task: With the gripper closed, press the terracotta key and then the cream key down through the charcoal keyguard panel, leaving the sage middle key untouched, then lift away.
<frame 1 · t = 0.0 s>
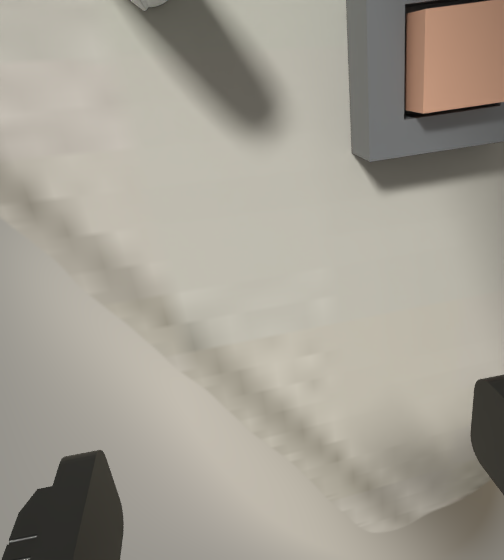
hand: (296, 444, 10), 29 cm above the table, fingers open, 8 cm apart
terracotta key: (458, 57, 32), point 4 cm above the table, slide at 0.0 cm
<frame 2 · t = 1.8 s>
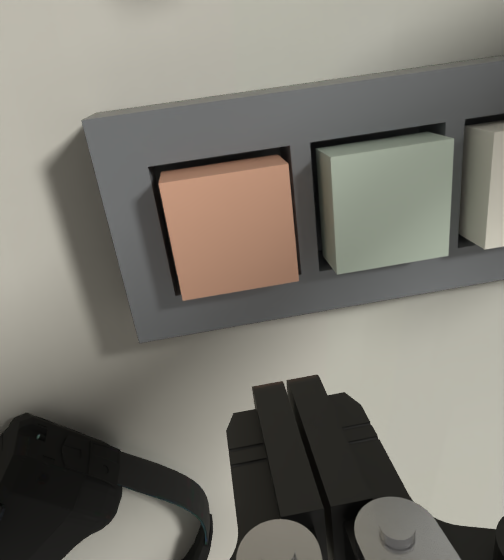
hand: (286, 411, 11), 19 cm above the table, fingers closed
virtual reality headset: (77, 518, 37), on the table
terracotta key: (230, 226, 24), point 4 cm above the table, slide at 0.0 cm
sage key: (382, 202, 25), point 4 cm above the table, slide at 0.0 cm
keyguard panel: (354, 183, 29), on the table
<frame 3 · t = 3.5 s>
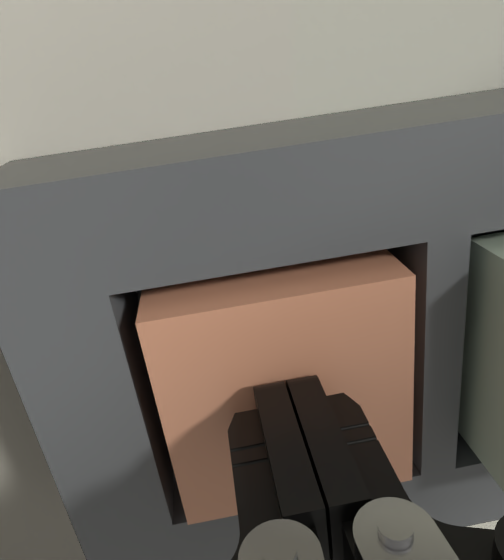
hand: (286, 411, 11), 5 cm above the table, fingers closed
terracotta key: (280, 377, 13), point 3 cm above the table, slide at 1.3 cm, touching gripper
keyguard panel: (500, 279, 16), on the table
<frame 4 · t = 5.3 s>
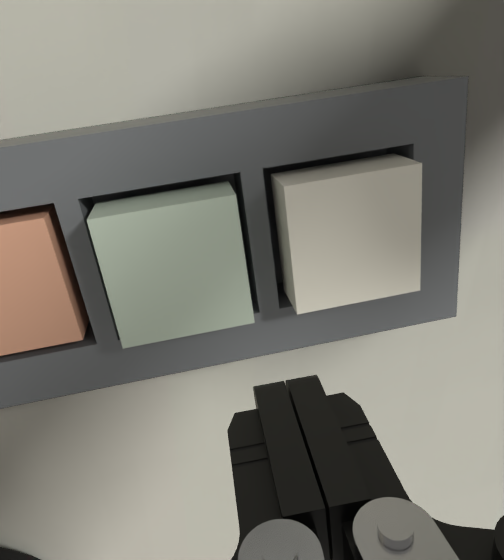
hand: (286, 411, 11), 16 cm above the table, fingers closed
terracotta key: (4, 282, 22), point 3 cm above the table, slide at 1.6 cm
sage key: (176, 263, 22), point 4 cm above the table, slide at 0.0 cm
cream key: (346, 232, 22), point 4 cm above the table, slide at 0.0 cm
keyguard panel: (174, 234, 26), on the table
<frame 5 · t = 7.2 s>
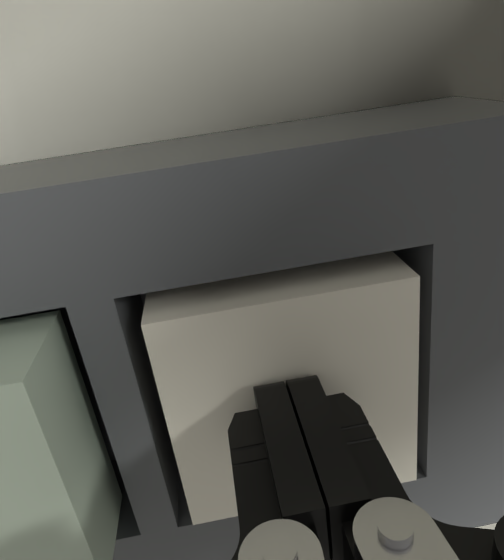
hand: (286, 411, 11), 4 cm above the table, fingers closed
cream key: (284, 377, 13), point 3 cm above the table, slide at 1.4 cm, touching gripper
keyguard panel: (13, 367, 15), on the table
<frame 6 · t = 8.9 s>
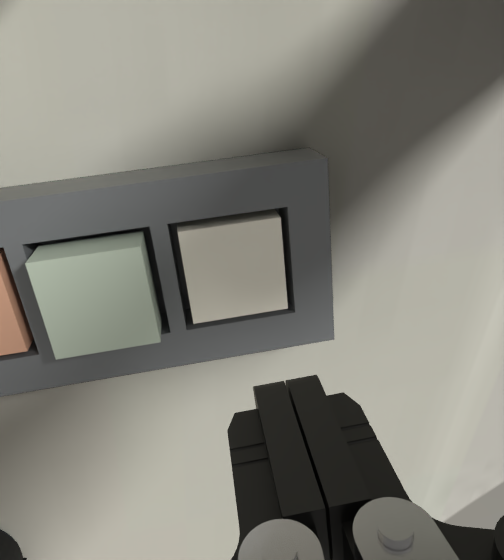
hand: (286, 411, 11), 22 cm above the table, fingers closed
sage key: (100, 294, 28), point 4 cm above the table, slide at 0.0 cm
cream key: (232, 263, 30), point 3 cm above the table, slide at 1.6 cm
keyguard panel: (109, 266, 32), on the table
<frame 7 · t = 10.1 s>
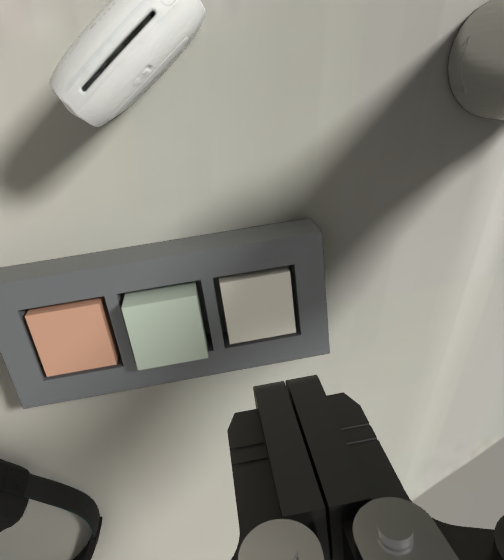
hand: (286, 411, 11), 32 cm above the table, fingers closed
virtual reality headset: (5, 518, 53), on the table
terracotta key: (75, 332, 42), point 3 cm above the table, slide at 1.6 cm
sage key: (166, 325, 41), point 4 cm above the table, slide at 0.0 cm
cream key: (256, 301, 43), point 3 cm above the table, slide at 1.6 cm
photo printer: (140, 53, 37), on the table
keyguard panel: (168, 302, 45), on the table
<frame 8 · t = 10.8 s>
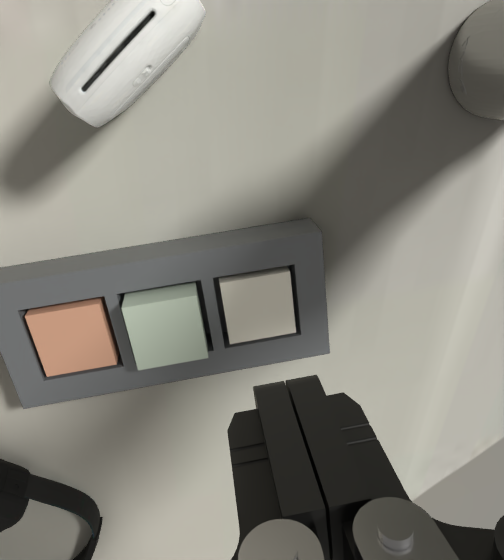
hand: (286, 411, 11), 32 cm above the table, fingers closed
virtual reality headset: (6, 517, 53), on the table
terracotta key: (75, 332, 42), point 3 cm above the table, slide at 1.6 cm
sage key: (166, 325, 41), point 4 cm above the table, slide at 0.0 cm
cream key: (256, 301, 43), point 3 cm above the table, slide at 1.6 cm
photo printer: (140, 53, 37), on the table
keyguard panel: (168, 302, 45), on the table
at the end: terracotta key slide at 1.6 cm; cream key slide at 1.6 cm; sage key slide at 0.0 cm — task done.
